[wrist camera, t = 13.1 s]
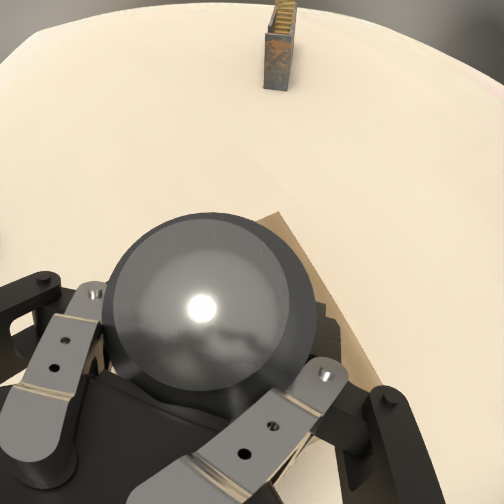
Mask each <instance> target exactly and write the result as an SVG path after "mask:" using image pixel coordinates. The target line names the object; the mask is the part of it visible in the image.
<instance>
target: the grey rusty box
mask: <svg viewBox="0 0 504 504" xmlns="http://www.w3.org/2000/svg"><path fill="white" fill-rule="evenodd" d="M275 2H276V6H275V8H274V11H273V14H272V17H271V20H270V23H269V25H268V33H265V61H264V86H263V87H264V89H271V90H280V91H287V87H288V81H289V74H290V67H291V60H292V53H293V45H294V34H295V23H296V12H297V3H295V0H275Z"/></svg>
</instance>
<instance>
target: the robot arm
mask: <svg viewBox="0 0 504 504" xmlns="http://www.w3.org/2000/svg"><path fill="white" fill-rule="evenodd" d="M108 282H109V281H107V282H106V283H104V282H99V281H90V282H86V283H83V284H81V285H80V286H79V287H78V288H77V290H73V289H68V288H63V287H61V278H60V276H59V275H58V274H56V273H54V272H50V271H41V272H36V273H34V274H31V275H29V276H26V277H24V278H21V279H19V280H16V281H14V282H12V283H9V284H7V285H4V286H2V287H0V384H1V383H3V382H5V381H6V380H8V379H9V378H11V377H13V376H14V375H16V374H18V373H19V372H21V371H22V370H24V369H26V368H27V369H26V371H25V373H24V376H23V378H22V380H21V382H20V383H18V384H14V385H8V386H2V387H0V504H284V503H283V502H282V500H281V498H280V497H279V495H278V493H277V491H276V490H275V488H274V486H275V485H276V483H277V482H278V481H279V480H280V479H281V477H282V476H283V475H284V474H285V472H286V471H287V470H288V468H289V467H290V466H291V465H292V464H293V462H294V461H295V460H296V459H297V457H298V456H299V455H300V454H301V452H302V451H303V450H304V449H305V447H306V446H307V445H308V444H309V442H310V441H311V440H312V438H313V437H314V436H316V437H318V438H320V439H322V440H324V441H326V442H328V443H330V444H332V445H334V446H335V453H336V459H337V466H338V472H339V479H340V486H341V493H342V500H343V504H446V503H445V500H444V497H443V494H442V491H441V488H440V485H439V482H438V479H437V476H436V473H435V470H434V468H433V465H432V462H431V459H430V457H429V454H428V451H427V449H426V446H425V443H424V441H423V438H422V436H421V433H420V430H419V428H418V425H417V423H416V420H415V418H414V415H413V413H412V411H411V408H410V406H409V403H408V401H407V399H406V397H405V396H404V395H403V394H402V393H401V392H400V391H398V390H397V389H395V388H393V387H390V386H385V385H380V386H376V387H374V388H373V389H372V390H371V392H368V391H365V390H363V389H361V388H359V387H357V386H355V385H354V384H352V383H351V382H350V381H349V380H348V379H349V374H348V372H347V370H346V368H345V367H344V366H343V365H342V363H341V337H340V336H341V332H340V326H339V325H338V323H337V321H336V320H335V319H333V318H329V317H326V304H325V303H321V302H318V301H316V312H317V319H316V331H315V336H314V341H313V345H312V348H311V351H310V353H309V356H308V359H307V360H306V362H305V364H304V366H303V368H302V370H301V372H300V373H299V374H298V376H297V377H296V379H295V380H294V381H293V383H292V384H291V385H290V386H289V387H288V388H287V389H286V390H281V389H279V388H278V387H273V388H272V389H271V390H270V391H268V392H267V393H266V394H265V395H264V396H263V397H262V398H261V399H259V400H258V401H257V402H256V403H255V404H254V405H253V406H251V407H250V408H249V409H248V410H247V411H246V412H244V413H243V414H242V415H241V416H240V417H239V418H237V419H236V420H235V421H234V422H233V423H231V424H230V422H231V421H229V420H226V419H223V418H220V417H217V416H214V415H211V414H209V413H206V412H203V411H200V410H198V409H192V408H187V407H181V406H176V405H170V404H165V403H161V402H159V401H157V400H155V399H154V398H153V397H151V396H150V395H148V394H147V393H146V392H144V391H143V390H142V389H140V388H139V387H138V386H136V385H135V384H134V383H132V382H130V381H128V380H126V379H124V378H122V377H120V376H118V375H116V374H114V373H112V372H111V368H112V363H111V361H110V359H109V356H108V354H107V351H106V347H105V344H104V340H103V333H102V330H103V323H102V316H101V314H102V305H103V299H104V295H105V291H106V287H107V284H108ZM31 311H32V315H33V321H34V325H32V326H30V327H28V328H26V329H24V330H22V331H21V332H19V333H17V334H15V335H13V336H11V334H10V325H11V323H12V322H13V321H14V320H15V319H17V318H19V317H21V316H23V315H25V314H27V313H29V312H31Z"/></svg>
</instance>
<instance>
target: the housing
mask: <svg viewBox="0 0 504 504" xmlns="http://www.w3.org/2000/svg"><path fill="white" fill-rule="evenodd" d="M101 316H102V323H103V330H102V333H103V340H104V344H105V347H106V351H107V354H108V356H109V359H110V361H111V363H112V365H113V367H114V369H115V371H116V372H117V374H118V376H120V377H122V378H124V379H126V380H128V381H130V382H132V383H134V384H135V385H136V386H138V387H139V388H140V389H142V390H143V391H144V392H146V393H147V394H148V395H150V396H151V397H153V398H154V399H155V400H157V401H159V402H161V403H165V404H170V405H176V406H181V407H187V408H192V409H198V410H200V411H203V412H206V413H209V414H211V415H214V416H217V417H220V418H223V419H226V420H229V421H230V420H234V419H237V418H239V417H240V416H241V415H242V414H243V413H244V412H246V411H247V410H248V409H249V408H250V407H251V406H253V405H254V404H255V403H256V402H257V401H258V400H259V399H261V398H262V397H263V396H264V395H265V394H266V393H267V392H268V391H270V390H271V389H272V388H273V387H278V388H279V389H281V390H286V389H287V388H288V387H289V386H290V385H291V384H292V383H293V381H294V380H295V379H296V377H297V376H298V374H299V373H300V372H301V370H302V368H303V366H304V364H305V362H306V360H307V359H308V356H309V353H310V351H311V348H312V345H313V341H314V336H315V331H316V319H317V312H316V300H315V296H314V291H313V287H312V284H311V281H310V279H309V276H308V273H307V272H306V270H305V268H304V266H303V264H302V262H301V261H300V259H299V258H298V256H297V255H296V254H295V252H294V251H293V250H292V249H291V248H290V247H289V246H288V244H287V243H286V242H285V241H284V240H282V239H281V238H280V237H279V236H278V235H276V234H275V233H274V232H272V231H271V230H269V229H268V228H266V227H264V226H263V225H260V224H258V223H256V222H254V221H252V220H249V219H246V218H243V217H240V216H236V215H231V214H226V213H215V212H211V213H196V214H189V215H185V216H181V217H178V218H175V219H172V220H170V221H167V222H164V223H163V224H161V225H159V226H157V227H155V228H153V229H152V230H150V231H149V232H147V233H146V234H144V235H143V236H142V237H141V238H139V239H138V240H137V241H136V242H135V243H134V244H133V245H132V246H131V247H130V248H129V249H128V250H127V251H126V253H125V254H124V255H123V256H122V258H121V259H120V261H119V262H118V264H117V265H116V267H115V269H114V271H113V273H112V275H111V277H110V279H109V282H108V284H107V287H106V291H105V295H104V299H103V305H102V314H101Z"/></svg>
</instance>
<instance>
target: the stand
mask: <svg viewBox="0 0 504 504" xmlns="http://www.w3.org/2000/svg"><path fill="white" fill-rule="evenodd" d="M256 223H258V224H260V225H263V226H264V227H266V228H268V229H269V230H271V231H272V232H274V233H275V234H276V235H278V236H279V237H280V238H281V239H282V240H284V241H285V242H286V243H287V244H288V246H289V247H290V248H291V249H292V250H293V251H294V252H295V254H296V255H297V256H298V258H299V259H300V261H301V262H302V264H303V266H304V268H305V270H306V272H307V273H308V276H309V279H310V281H311V284H312V287H313V291H314V296H315V300H316V301H318V302H321V303H325V304H326V317H329V318H333V319H335V320H336V321H337V323H338V325H339V326H340V332H341V336H340V337H341V363H342V365H343V366H344V367H345V368H346V370H347V372H348V374H349V379H348V380H349V381H350V382H351V383H352V384H354V385H355V386H357V387H359V388H361V389H363V390H365V391H368V392H371V390H372V389H373V388H374V387H376V386H380V385H383V384H382V382H381V381H380V379H379V377H378V375H377V373H376V372H375V370H374V368H373V366H372V364H371V363H370V361H369V359H368V357H367V356H366V354H365V352H364V350H363V349H362V347H361V345H360V344H359V342H358V340H357V338H356V337H355V335H354V333H353V331H352V330H351V328H350V326H349V325H348V323H347V321H346V320H345V318H344V316H343V314H342V313H341V311H340V309H339V308H338V306H337V304H336V303H335V301H334V299H333V298H332V296H331V294H330V293H329V291H328V290H327V288H326V286H325V285H324V283H323V281H322V280H321V278H320V276H319V275H318V273H317V272H316V270H315V268H314V267H313V265H312V263H311V262H310V260H309V259H308V257H307V255H306V254H305V252H304V251H303V249H302V247H301V246H300V244H299V243H298V241H297V240H296V238H295V236H294V235H293V233H292V232H291V230H290V229H289V227H288V225H287V224H286V222H285V221H284V219H283V218H282V216H281V215H280V213H279V211H278V212H276V213H274V214H272V215H269V216H267V217H265V218H263V219H260V220H258V221H256ZM115 372H116V371H115ZM116 374H117V372H116ZM117 375H118V374H117ZM235 420H236V419H234V420H230V421H231V422H230V424H231V423H233V422H234V421H235ZM318 439H320V438H318V437H316V436H314V437H313V438H312V440H311V441H310V442H309V444H311V443H313V442H315V441H317V440H318ZM309 444H308V445H309ZM308 445H307V446H308Z"/></svg>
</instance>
